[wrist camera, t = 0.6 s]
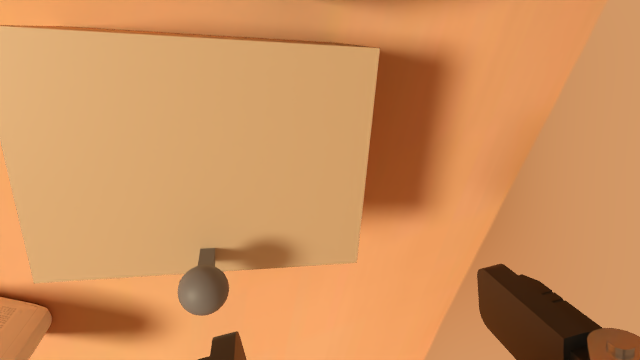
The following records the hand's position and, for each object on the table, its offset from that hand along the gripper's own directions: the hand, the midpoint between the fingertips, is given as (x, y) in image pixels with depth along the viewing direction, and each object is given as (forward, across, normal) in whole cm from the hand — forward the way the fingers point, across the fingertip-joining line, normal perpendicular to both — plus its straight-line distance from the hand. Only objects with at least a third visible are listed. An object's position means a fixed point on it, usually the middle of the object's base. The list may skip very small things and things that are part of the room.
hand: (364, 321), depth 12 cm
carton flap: (+16, +6, -3) cm, 17 cm away
